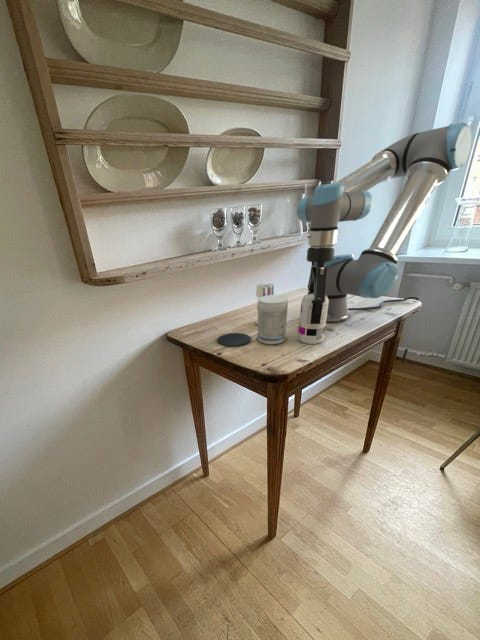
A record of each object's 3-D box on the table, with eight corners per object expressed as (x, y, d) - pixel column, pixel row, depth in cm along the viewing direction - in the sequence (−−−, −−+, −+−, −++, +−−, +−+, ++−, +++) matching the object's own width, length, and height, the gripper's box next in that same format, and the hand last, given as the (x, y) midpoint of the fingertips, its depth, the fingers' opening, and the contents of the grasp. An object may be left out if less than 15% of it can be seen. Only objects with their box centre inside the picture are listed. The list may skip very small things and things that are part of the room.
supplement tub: (259, 334, 111) (260, 294, 104) (285, 335, 108) (288, 294, 101) (255, 344, 103) (256, 302, 96) (284, 346, 100) (287, 302, 93)
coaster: (239, 331, 115) (240, 330, 115) (257, 341, 106) (257, 340, 105) (212, 338, 112) (212, 337, 112) (227, 349, 102) (227, 348, 102)
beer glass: (259, 320, 125) (260, 283, 118) (275, 321, 122) (277, 284, 114) (252, 325, 121) (253, 287, 113) (268, 327, 117) (270, 288, 109)
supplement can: (293, 341, 103) (297, 297, 96) (305, 334, 108) (309, 292, 100) (316, 346, 98) (322, 300, 90) (327, 338, 102) (334, 294, 95)
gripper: (303, 243, 99) (297, 306, 110) (313, 252, 78) (304, 329, 89) (328, 241, 98) (319, 306, 108) (344, 250, 77) (331, 329, 87)
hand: (312, 317), depth 99 cm, fingers open, 13 cm apart
